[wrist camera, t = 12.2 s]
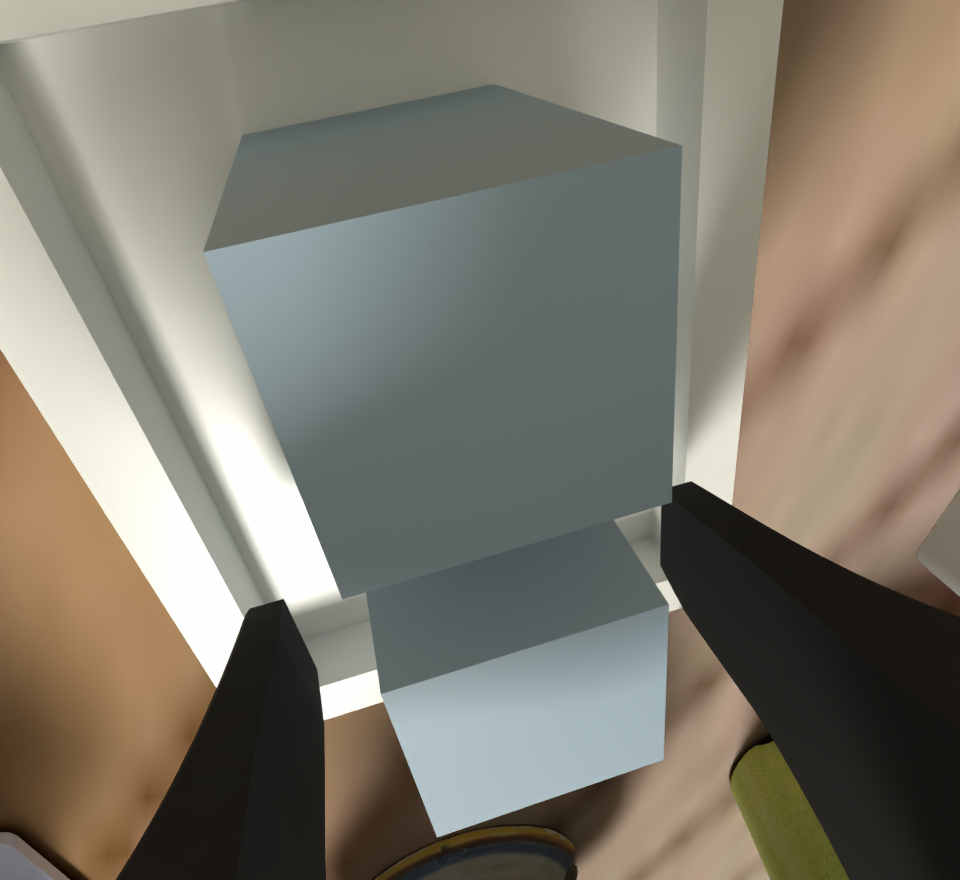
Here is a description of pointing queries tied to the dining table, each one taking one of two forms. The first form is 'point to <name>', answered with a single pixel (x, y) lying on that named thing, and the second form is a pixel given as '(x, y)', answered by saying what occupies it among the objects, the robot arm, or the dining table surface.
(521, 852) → the apothecary jar
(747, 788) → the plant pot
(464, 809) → the block
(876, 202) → the dining table surface
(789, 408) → the dining table surface
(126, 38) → the tray
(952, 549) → the red striped block
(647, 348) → the block
